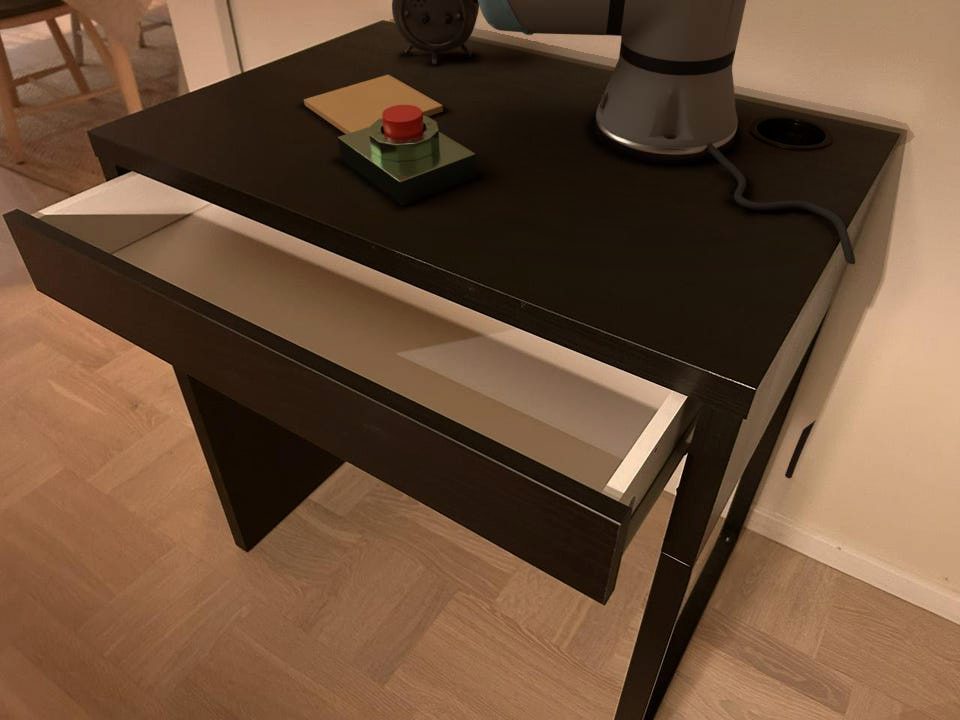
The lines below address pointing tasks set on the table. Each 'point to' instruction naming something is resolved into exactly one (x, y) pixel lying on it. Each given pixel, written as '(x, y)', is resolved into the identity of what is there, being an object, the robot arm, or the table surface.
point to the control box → (407, 161)
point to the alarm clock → (435, 24)
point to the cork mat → (368, 103)
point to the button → (402, 121)
